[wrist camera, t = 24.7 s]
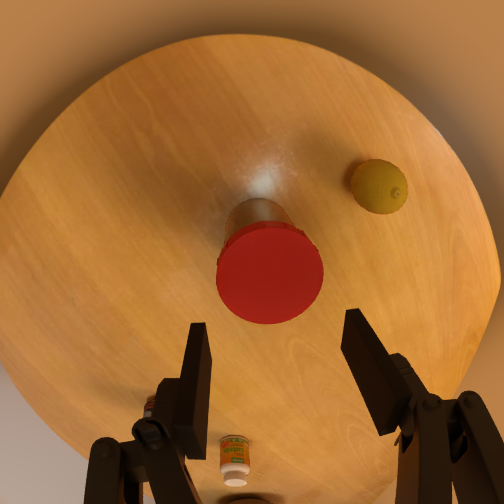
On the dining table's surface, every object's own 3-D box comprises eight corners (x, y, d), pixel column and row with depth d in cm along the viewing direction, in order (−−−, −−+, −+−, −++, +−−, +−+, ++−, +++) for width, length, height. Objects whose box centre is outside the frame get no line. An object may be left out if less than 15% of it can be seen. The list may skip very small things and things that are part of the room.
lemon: (331, 172, 30) (361, 183, 23) (370, 147, 29) (407, 152, 22) (354, 213, 32) (386, 235, 25) (390, 188, 31) (429, 203, 24)
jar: (243, 186, 30) (248, 212, 20) (302, 216, 32) (335, 255, 21) (214, 244, 33) (205, 297, 22) (271, 270, 34) (287, 328, 23)
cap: (245, 202, 21) (246, 207, 19) (335, 247, 22) (343, 255, 21) (201, 290, 23) (199, 302, 21) (286, 324, 25) (290, 336, 23)
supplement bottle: (245, 433, 46) (248, 476, 37) (250, 446, 48) (253, 486, 39) (217, 436, 46) (216, 478, 37) (223, 448, 48) (223, 488, 39)
